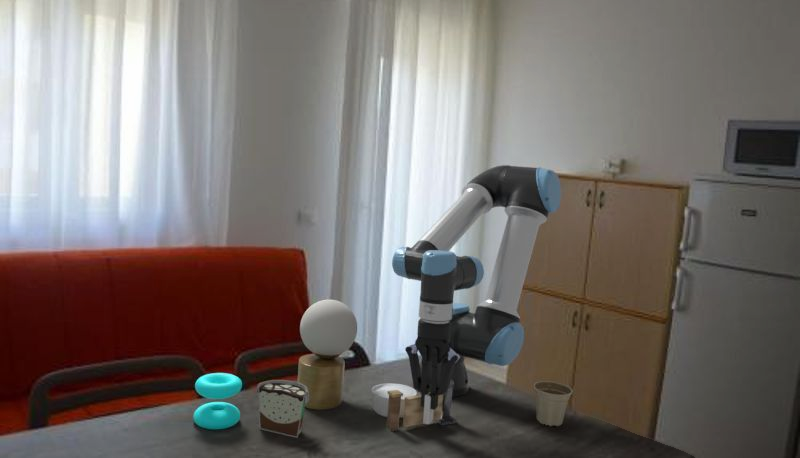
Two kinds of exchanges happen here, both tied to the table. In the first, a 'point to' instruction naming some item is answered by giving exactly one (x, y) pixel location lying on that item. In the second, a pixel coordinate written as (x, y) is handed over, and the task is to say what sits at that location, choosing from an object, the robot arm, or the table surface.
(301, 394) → the food container
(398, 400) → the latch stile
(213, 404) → the donuts
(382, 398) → the ramekin
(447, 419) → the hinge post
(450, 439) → the table surface
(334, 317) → the lamp
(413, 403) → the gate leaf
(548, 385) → the flower pot
